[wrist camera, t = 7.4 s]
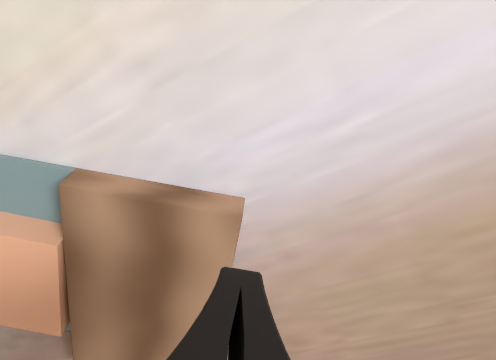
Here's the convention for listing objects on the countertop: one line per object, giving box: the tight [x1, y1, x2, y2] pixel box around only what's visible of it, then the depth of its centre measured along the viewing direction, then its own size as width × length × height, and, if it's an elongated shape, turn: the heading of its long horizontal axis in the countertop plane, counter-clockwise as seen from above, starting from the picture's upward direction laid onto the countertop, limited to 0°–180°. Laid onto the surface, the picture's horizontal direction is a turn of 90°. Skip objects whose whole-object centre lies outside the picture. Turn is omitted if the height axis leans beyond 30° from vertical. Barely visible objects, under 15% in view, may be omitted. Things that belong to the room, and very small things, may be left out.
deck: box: [59, 168, 245, 360], centre depth 25 cm, size 10×16×2 cm, turn 170°
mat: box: [0, 155, 76, 331], centre depth 25 cm, size 8×14×1 cm, turn 170°
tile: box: [0, 211, 70, 337], centre depth 24 cm, size 6×8×2 cm
